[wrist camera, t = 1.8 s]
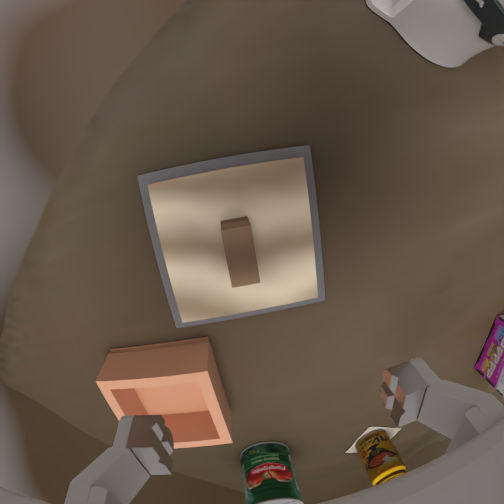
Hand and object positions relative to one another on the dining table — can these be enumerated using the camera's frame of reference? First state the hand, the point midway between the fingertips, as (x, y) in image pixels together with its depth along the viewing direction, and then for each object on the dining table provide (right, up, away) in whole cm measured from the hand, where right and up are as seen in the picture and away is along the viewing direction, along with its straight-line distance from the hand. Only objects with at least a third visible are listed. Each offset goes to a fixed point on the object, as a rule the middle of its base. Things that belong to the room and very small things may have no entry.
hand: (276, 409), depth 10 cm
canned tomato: (+1, -26, +31) cm, 41 cm away
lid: (-2, +6, +19) cm, 20 cm away
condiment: (+21, -28, +34) cm, 48 cm away
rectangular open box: (-11, -10, +24) cm, 29 cm away
